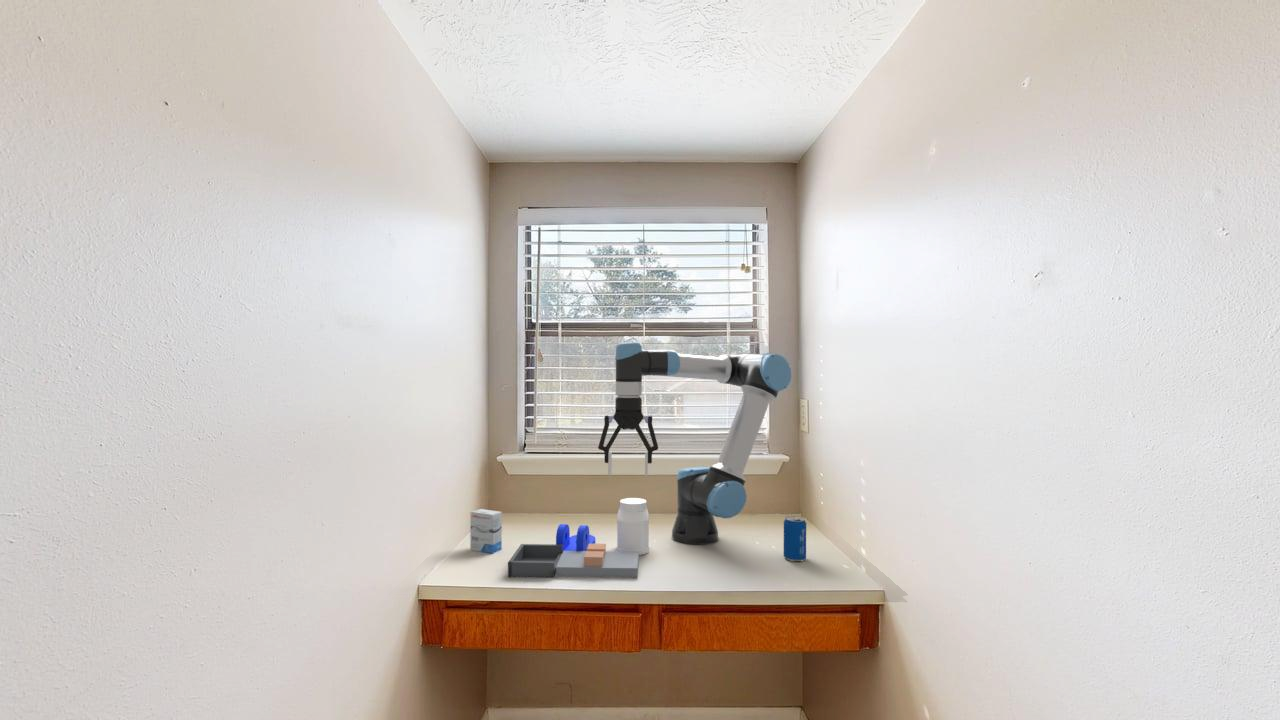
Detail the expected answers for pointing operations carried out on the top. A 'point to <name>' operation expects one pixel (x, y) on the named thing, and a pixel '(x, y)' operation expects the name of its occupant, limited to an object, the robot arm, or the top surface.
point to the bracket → (574, 538)
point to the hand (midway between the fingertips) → (628, 474)
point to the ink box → (486, 531)
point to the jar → (633, 526)
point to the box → (535, 561)
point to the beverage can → (794, 538)
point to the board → (612, 566)
